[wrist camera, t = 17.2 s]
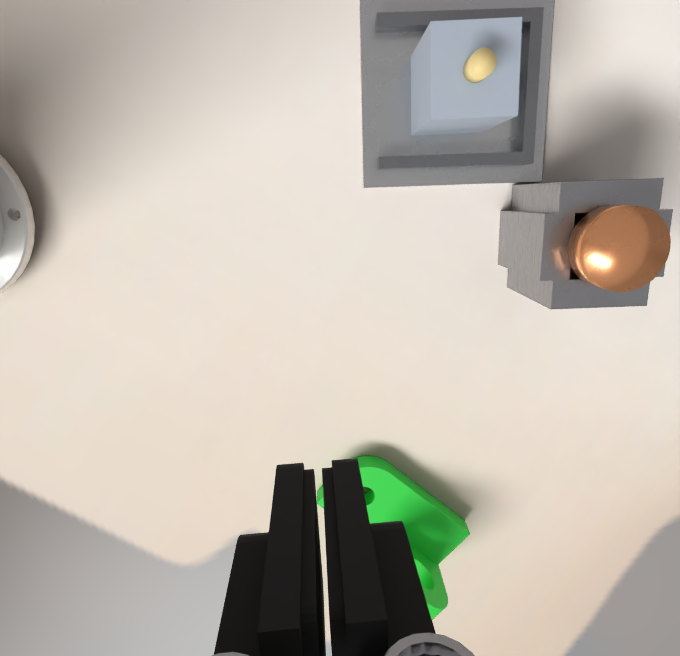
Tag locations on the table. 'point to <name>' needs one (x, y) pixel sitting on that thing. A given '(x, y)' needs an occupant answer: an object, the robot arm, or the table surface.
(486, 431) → the table surface
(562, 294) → the copper disc holder
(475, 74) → the light blue block
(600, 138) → the table surface
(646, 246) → the plunger
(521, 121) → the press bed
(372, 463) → the mechanical part
